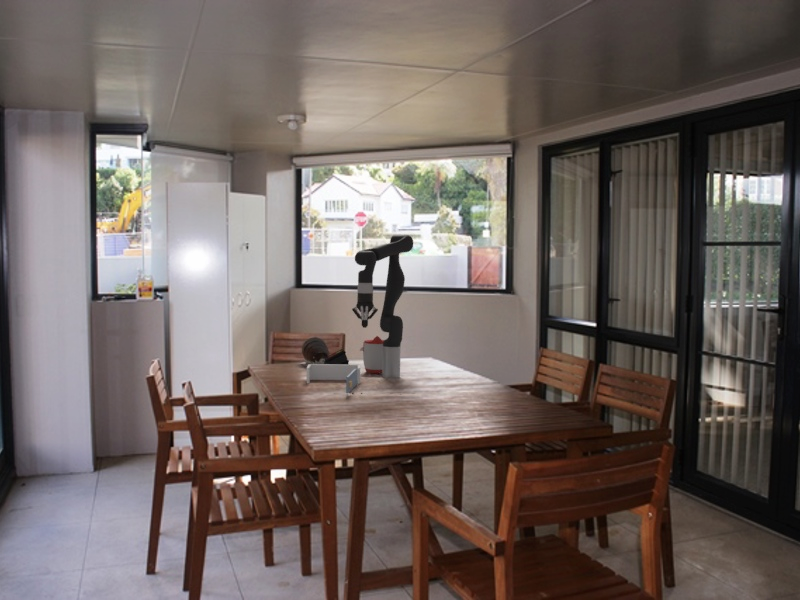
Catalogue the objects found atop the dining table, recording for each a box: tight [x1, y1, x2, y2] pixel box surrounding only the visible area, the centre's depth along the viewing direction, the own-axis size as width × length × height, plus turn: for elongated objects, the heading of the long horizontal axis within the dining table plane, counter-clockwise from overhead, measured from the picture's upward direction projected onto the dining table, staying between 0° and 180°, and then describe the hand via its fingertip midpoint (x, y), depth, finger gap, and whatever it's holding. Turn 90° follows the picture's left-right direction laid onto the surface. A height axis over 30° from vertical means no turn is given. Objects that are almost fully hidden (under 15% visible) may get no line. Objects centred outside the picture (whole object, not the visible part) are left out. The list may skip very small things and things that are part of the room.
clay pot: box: [301, 336, 330, 365], centre depth 419 cm, size 15×15×25 cm
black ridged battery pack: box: [324, 348, 350, 365], centre depth 381 cm, size 4×13×15 cm, turn 112°
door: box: [345, 369, 358, 394], centre depth 347 cm, size 2×23×8 cm, turn 174°
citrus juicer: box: [359, 335, 385, 374], centre depth 401 cm, size 16×17×20 cm
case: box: [306, 364, 361, 385], centre depth 364 cm, size 12×26×9 cm, turn 93°
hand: (364, 327), depth 359 cm, fingers closed
